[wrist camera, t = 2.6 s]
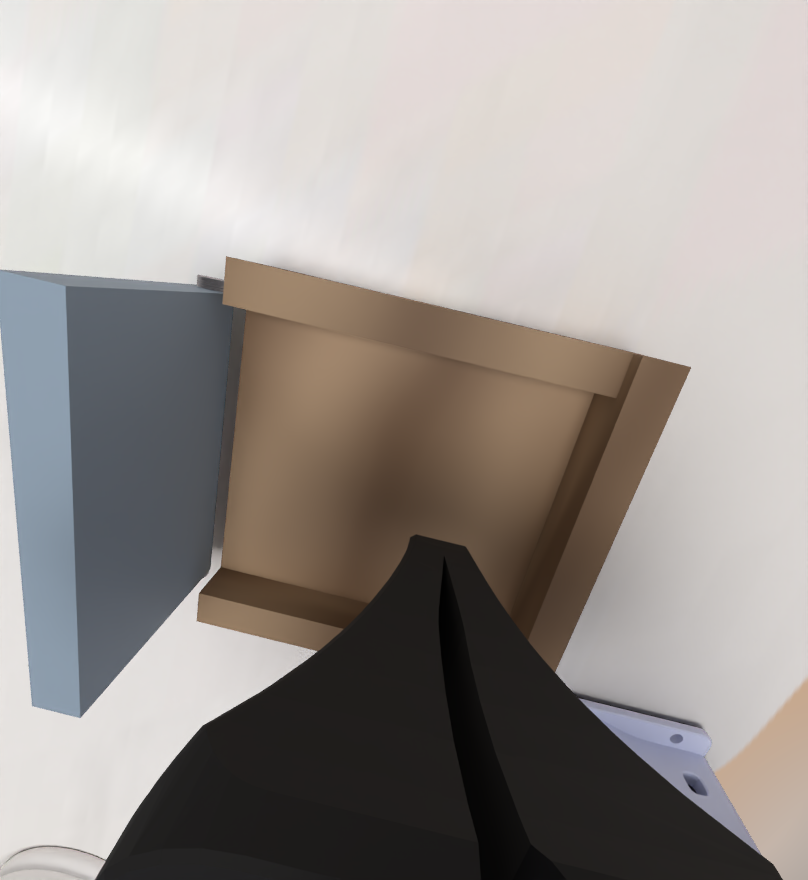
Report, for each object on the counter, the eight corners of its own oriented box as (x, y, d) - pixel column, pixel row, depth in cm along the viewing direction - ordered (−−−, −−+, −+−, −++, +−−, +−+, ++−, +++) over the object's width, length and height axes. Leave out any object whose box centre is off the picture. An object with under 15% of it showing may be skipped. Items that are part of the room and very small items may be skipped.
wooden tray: (630, 351, 14) (691, 367, 10) (517, 638, 17) (534, 717, 14) (270, 266, 14) (216, 254, 10) (236, 569, 18) (188, 631, 14)
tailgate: (243, 284, 13) (65, 266, 7) (216, 567, 16) (80, 726, 10) (205, 275, 13) (-7, 249, 7) (186, 560, 16) (32, 714, 10)
